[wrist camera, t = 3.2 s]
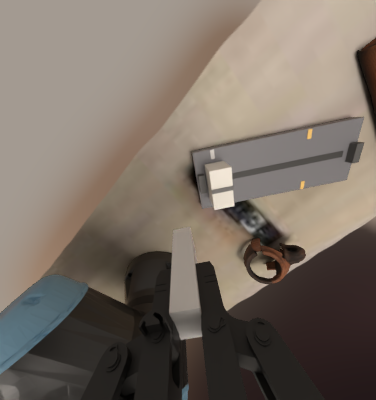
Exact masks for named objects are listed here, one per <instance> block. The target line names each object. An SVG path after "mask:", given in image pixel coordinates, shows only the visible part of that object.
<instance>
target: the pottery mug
mask: <svg viewBox="0 0 376 400" xmlns="http://www.w3.org/2000/svg"><path fill="white" fill-rule="evenodd" d="M279 244H280V246H281V248H282V249H283V250H282V249H280V252H279V251H277V250H275V249H272V248H270V247H267V246H262V245H260V239H259V238H257V239H253V240H252V242H251V244H250V245H249V246H248V247H247V249H246V251H245V254H244V260H245V261H244V264H245V266H246V268H247V271H248V273H249V275H250V276H251V277H252V278H254V279H255V280H256V281H258V282H260V283H264V284H272V283H277V282H279V281H281V280H282V279H283V278H284V276H285V275H286V274H287V272H288V271H289V268H290V265H292V264H294V263H299V262H300V261H302V260H303V259H304V258H305V256H306V254H305V250H304V249H303V248H301V247H299V246H296V245H285V244H282V243H279ZM259 251H262V253H263V255H267V256H270V257H272V258H274V259H275V261H272V262H268V263H266V265H267V270H276V275H275V276H274V277H273V278H269V279H268V278H264V277H259V276H257V275H256V274H255V273H254V272H253V271H252V270H251V267H250V262H251V260H252V259H253V258H254V257H255V256H257V253H256V252H259Z"/></svg>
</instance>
